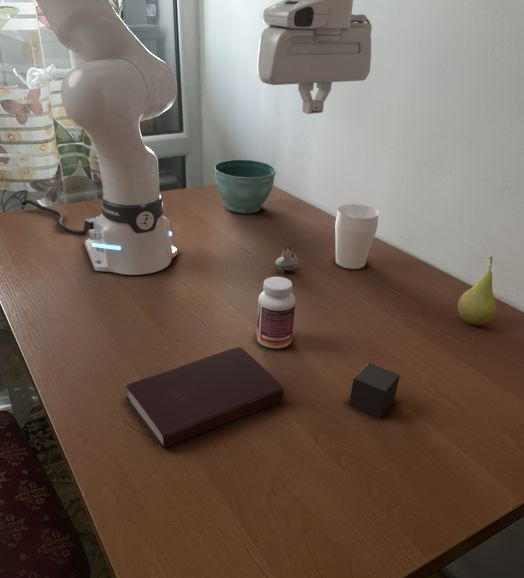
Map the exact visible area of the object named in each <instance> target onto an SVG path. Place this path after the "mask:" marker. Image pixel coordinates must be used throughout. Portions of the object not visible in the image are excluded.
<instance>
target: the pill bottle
mask: <svg viewBox="0 0 524 578" xmlns="http://www.w3.org/2000/svg"><path fill="white" fill-rule="evenodd" d="M262 285H263V286H262V287H263V288H262V290H263V291H262V292H261V293H260V294H259V295H258V300H257V319H256V340H257V342H258V343H259V344H260V345H261V346H263V347H265V348H268V349H273V350H277V349H278V350H279V349H283V348H284V349H285V348H286V347H288V346H289V345H291V342H293V334H294V321H295V313H296V312H295V311H296V297H295V295H294V294H293V293H292V292H293V282H292V281H291V280H290V279H289V278H286V277H282V276H271V277H267V278H265V279H264V281H263V284H262Z"/></svg>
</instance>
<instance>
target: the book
mask: <svg viewBox="0 0 524 578" xmlns="http://www.w3.org/2000/svg"><path fill="white" fill-rule="evenodd" d="M125 388H126V389H127V390H128V395H127V396H125V399H126V400H127V402H128V403H129V405H130V406H131V408H132V409H133V411H134V412H135V413H136V415H137V416H138V418H139V419H140V421H142V423H143V424H144V425H145V427H146V428H147V430H148V431H149V432H150V433H151V435H152V436H153V437H154V439H155V440H156V441H157V443H158V444H159V445H160V446H161V447H162V448H163V449H165V448H168V447H170V446H173V445H175V444H177V443H180V442H183V441H185V440H188V439H190V438H192V437H195V436H197V435H199V434H202V433H204V432H207V431H209V430H212V429H215V428H217V427H219V426H222V425H224V424H228V423H231V422H232V421H234V420H237V419H240V418H242V417H245V416H248V415H250V414H253V413H256V412H258V411H261V410H263V409H266V408H268V407H271V406H273V405H276V404H279V403H281V402H282V401H283V399H284V394H285V389H284V387H283V386H282V384H281V383H280V382H279V381H278V380H277V379H276V378H274V376H273V375H272V374H271V373H270V372H269V371H268V370H266V368H265V367H263V365H262V364H260V363H259V361H257V360H256V359H255V358H254V357H253V356H252V355H251V354H249V353H248V352H247V351H246V350H245V349H244V348H242V347H241V346H237V347H233V348H231V349H230V348H229V349H227V350H224V351H221V352H218V353H215V354H212V355H209V356H207V357H204V358H201V359H198V360H195V361H193V362H189V363H186V364H184V365H181V366H178V367H174V368H172V369H170V370H166V371H163V372H160V373H157V374H153V375H151V376H148V377H144V378H142V379H139V380H137V381H133V382H131V383H128V384H126V386H125Z"/></svg>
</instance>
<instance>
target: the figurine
mask: <svg viewBox="0 0 524 578" xmlns="http://www.w3.org/2000/svg"><path fill="white" fill-rule="evenodd" d="M292 253H293V254H292ZM298 264H299V259H298V256H296V254H295V253H294V250H293V249H292V245H288V246H287V248H286V250H284V249H282V252H281V253H280V257H278V258H277V259H276V260H275V262H274V265H275V267H276V268H277V270H279V271H280V273H282V274H285V273H286V272H290V271H292V270H294V269H296V268H297V267H298Z"/></svg>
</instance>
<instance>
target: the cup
mask: <svg viewBox="0 0 524 578" xmlns="http://www.w3.org/2000/svg"><path fill="white" fill-rule="evenodd" d="M336 211H337V212H336V217H335V222H334V229H335V230H334V231H335V232H334V236H335V237H334V240H335V241H334V243H335V245H334V246H335V264H337V265H338V266H339V267H341V268H344V269H349V270H358V269H359V270H360V269H362V268H364V267H365V266H366V263H367V260H368V257H369V254H370V252H371V249H372V245H373V242H374V239H375V236H376V233H377V229H378V222H379V215H380V213H379V210H377V209H375V208H373V207H371V206H368V205H364V204H354V203H353V204H350V203H349V204H343V205H340V206H339V207H338V208H337V210H336Z"/></svg>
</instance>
